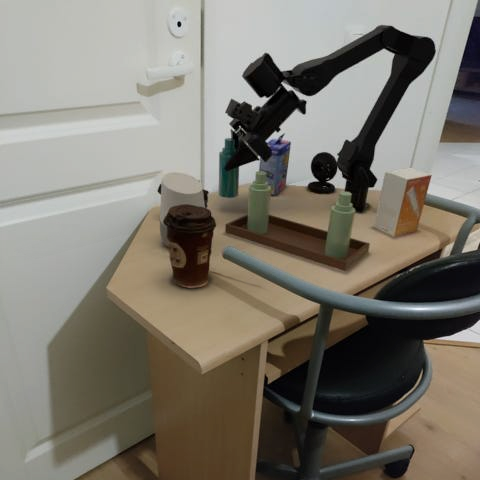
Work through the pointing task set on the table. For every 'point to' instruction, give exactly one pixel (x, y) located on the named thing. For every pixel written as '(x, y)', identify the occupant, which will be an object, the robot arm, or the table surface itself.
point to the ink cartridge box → (276, 164)
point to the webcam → (323, 172)
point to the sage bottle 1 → (259, 204)
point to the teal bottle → (228, 172)
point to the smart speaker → (178, 195)
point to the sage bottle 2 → (340, 227)
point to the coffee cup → (189, 243)
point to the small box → (402, 200)
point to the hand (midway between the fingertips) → (223, 166)
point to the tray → (298, 241)
